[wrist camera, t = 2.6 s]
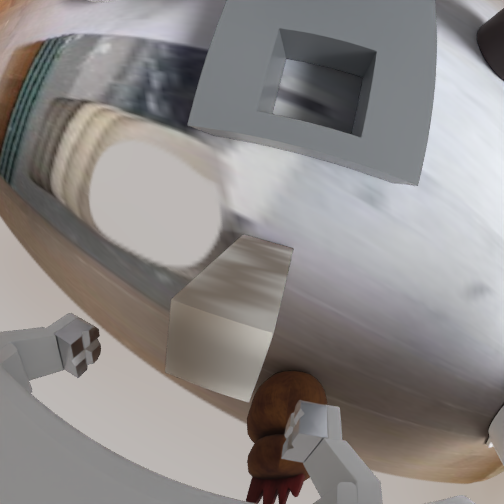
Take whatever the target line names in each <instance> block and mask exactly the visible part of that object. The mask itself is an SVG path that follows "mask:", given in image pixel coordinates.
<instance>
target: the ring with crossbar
mask: <svg viewBox="0 0 504 504" xmlns="http://www.w3.org/2000/svg"><path fill="white" fill-rule="evenodd" d="M88 1H90V2H109V1H114V0H88Z"/></svg>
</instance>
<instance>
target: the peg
mask: <svg viewBox="0 0 504 504" xmlns="http://www.w3.org/2000/svg"><path fill="white" fill-rule="evenodd" d="M292 253H293V248H290V247H287V246H283V245H280V244H276V243H273V242H269V241H265V240H262V239H258V238H255V237H251V236H248V235H244V234H243V235H242V236H241V237H240V238H239V239H238V240H236V241H235V242H234V243H233V244H232V245H231V246H230V247H229V248H227V249H226V250H225V251H224V252H223V253H222V254H221V255H220V256H218V257H217V258H216V259H215V260H214V261H213V262H212V263H211V264H210V265H208V266H207V267H206V268H205V269H204V270H203V271H202V272H201V273H200V274H198V275H197V276H196V277H195V278H194V279H193V280H192V281H191V282H190V283H189V284H187V285H186V286H185V287H184V288H183V289H182V290H181V291H180V292H179V293H178V294H177V295H175V296H174V297H173V298H172V299H171V306H170V316H169V327H168V339H167V352H166V368H165V373H168V374H170V375H173V376H175V377H177V378H180V379H182V380H185V381H187V382H190V383H192V384H195V385H198V386H200V387H203V388H206V389H209V390H211V391H214V392H217V393H220V394H223V395H226V396H229V397H232V398H235V399H239V400H242V401H245V402H248V403H249V401H250V398H251V396H252V393H253V390H254V388H255V385H256V382H257V379H258V377H259V374H260V371H261V368H262V365H263V363H264V360H265V357H266V354H267V351H268V348H269V346H270V343H271V340H272V337H273V334H274V330H275V326H276V322H277V318H278V314H279V310H280V306H281V301H282V297H283V293H284V289H285V284H286V280H287V275H288V271H289V267H290V262H291V258H292Z"/></svg>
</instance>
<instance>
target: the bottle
mask: <svg viewBox="0 0 504 504" xmlns="http://www.w3.org/2000/svg"><path fill="white" fill-rule="evenodd" d="M477 41H478V44H479V47H480V50H481V52H482V54H483V56H484V57H485V59H486V61H487V62H488V64H489V65H490V67H491V68H492V69H493V70H494V71H495V72H496V74H497V75H498V76H499V77H500V78H502V79H503V80H504V8H503V9H502V10H501V11H500V12H498V13H497V14H496V15H495V16H493V17H492V18H491V19H490V20H488V21H487V22H486V23H485V24H484V25H482V26H481V27H480V28H479V30H478V33H477Z"/></svg>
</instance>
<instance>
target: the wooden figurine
mask: <svg viewBox="0 0 504 504" xmlns="http://www.w3.org/2000/svg"><path fill="white" fill-rule="evenodd" d="M299 400H302V401H307V402H313V403H318V404H324V405H328V404H327V399H326V395H325V391H324V389H323V387H322V385H321V384H320V383H319V381H318V380H317V379H316V378H314V377H313V376H312V375H310V374H307V373H304V372H297V371H286V372H280V373H276V374H274V375H273V376H272V377H270V378H269V379H268V380H266V381H265V382H264V383H263V384H262V385H261V386H260V387H259V389H258V390H257V392H256V393H255V396H254V399H253V402H252V405H251V408H250V411H249V414H248V417H247V430H248V435H249V437H250V439H251V440H252V441H253V442H254V443H255V444H254V446H253V447H252V449H251V451H250V453H249V455H248V461H247V463H248V471H249V473H250V474H251V475H252V480H251V484H250V488H249V491H248V495H247V499H246V502H251V503H256V504H258V503H259V501H260V499H261V498H262V496H263V504H274V502H275V500H276V497H277V495H278V498H279V504H286V501H287V498H288V495H289V492H290V491H291V492H292V495H293V496H295V497H297V496H298V495H299V492H300V490H301V488H302V485H303V482H304V481H305V480H307V479H308V478H310V476H309V474H308V472H307V470H306V468H305V466H304V464H303V463H302V462H296V461H291V460H286V459H281V457H282V450H283V444H284V443H285V441H286V437H285V436H284V435H285V429H286V425H287V422H288V419H289V417H290V415H291V414H292V413H294V412H295V406H296V404H297V402H298V401H299Z"/></svg>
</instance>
